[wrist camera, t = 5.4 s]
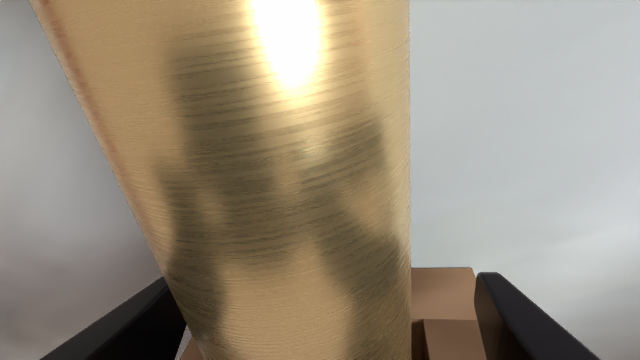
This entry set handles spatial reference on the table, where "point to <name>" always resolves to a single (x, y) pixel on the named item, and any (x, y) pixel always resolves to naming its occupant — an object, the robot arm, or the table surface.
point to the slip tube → (259, 162)
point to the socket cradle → (432, 317)
